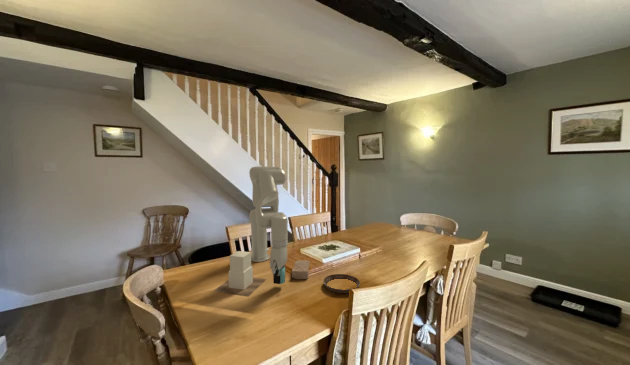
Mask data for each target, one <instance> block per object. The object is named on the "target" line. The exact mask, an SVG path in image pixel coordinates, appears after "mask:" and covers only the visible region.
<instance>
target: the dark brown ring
mask: <svg viewBox="0 0 630 365" xmlns="http://www.w3.org/2000/svg"><path fill="white" fill-rule="evenodd" d="M334 279H348V280H351V281H353V282H355V283H356V284H357V287H356V288H357V289H358V288H359V287H360V285H361V281H360V279H359V278H357V277H355V276H353V275H351V274H345V273H335V274H334V273H333V274H330V275H327V276H325V277H324V278H323V280H322V281H323V284H324V286H325V287H326V288H327V289H328V291H330V290H331V292H332V291H333V292H332V293H335V292H337V293H336V294H341V293H346V294H350V293H349V291H350V290H351V289H352V288H351V289H346V290H342V289H335V288H331V287H329V286H327V283H328V282H329V281H331V280H334ZM353 289H355V288H353Z"/></svg>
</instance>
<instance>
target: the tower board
mask: <svg viewBox="0 0 630 365" xmlns="http://www.w3.org/2000/svg"><path fill="white" fill-rule="evenodd" d="M266 280H267V278H260V277H254V276H253V283H251V284H250V285H249V286H248V287H247V288H246V289H245V290H242V289H235V288H229V279H228V280H226V281H225V282H223V283H222V284H220V285H219V286H218V287H217V288H215V289H214V290H213V292H215V293H221V294H229V295H235V296H242V297H248V298H249V297H250V296H251V295H252V294H253V293H254V292H255V291H256V290H257V289H258V288H259V287H260V286H261V285H262V284H263V283H264V282H266Z"/></svg>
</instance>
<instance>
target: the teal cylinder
mask: <svg viewBox="0 0 630 365" xmlns="http://www.w3.org/2000/svg"><path fill="white" fill-rule="evenodd" d="M276 268H278V267H276ZM276 271H277V272H278V270H276ZM284 283H286V268H284V267H282V268H281V269H280V284H279V285H282V284H284Z"/></svg>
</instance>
